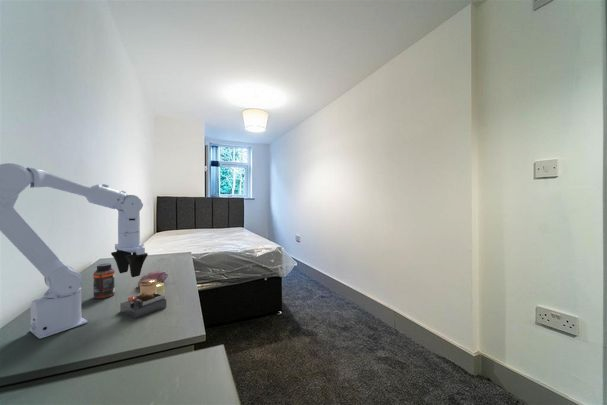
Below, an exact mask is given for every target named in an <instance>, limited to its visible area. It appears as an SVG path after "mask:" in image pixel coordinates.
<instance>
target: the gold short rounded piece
mask: <svg viewBox="0 0 607 405" xmlns="http://www.w3.org/2000/svg"><path fill="white" fill-rule="evenodd" d="M157 293H160V294H163V295H165V283H164V282H157Z"/></svg>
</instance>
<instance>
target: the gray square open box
mask: <svg viewBox="0 0 607 405" xmlns="http://www.w3.org/2000/svg"><path fill="white" fill-rule="evenodd" d="M119 308H120V312H121V313H122V314H125V315H127V316H129V317H132V318H134V320H135V319H139V318H142V317H144V316H146V315H149V314H153V313H154V312H157V311H160V310H163V309H165V308H167V298H166V295H165V294H164V295H163V294H160V293H157V297H155V298H152V299H149V300H146V301H142V300H140V294H136V295H134V296H130V297H128V298H127V301H124V302H122V303H120V307H119Z"/></svg>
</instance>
